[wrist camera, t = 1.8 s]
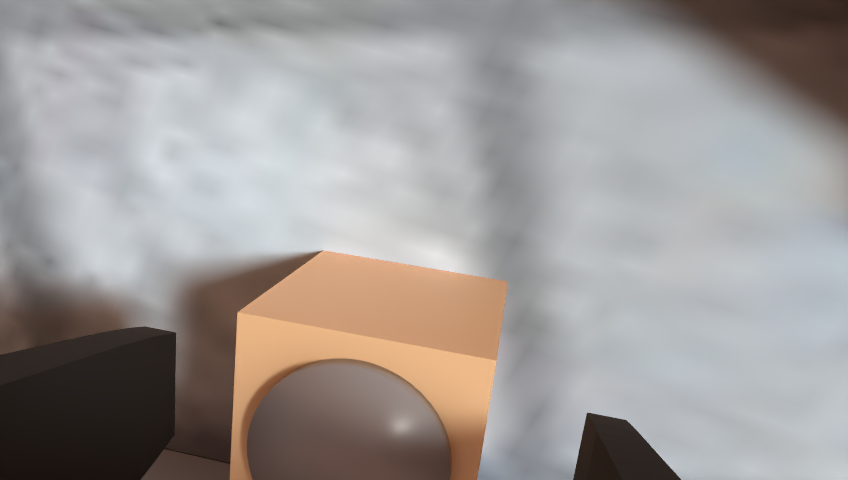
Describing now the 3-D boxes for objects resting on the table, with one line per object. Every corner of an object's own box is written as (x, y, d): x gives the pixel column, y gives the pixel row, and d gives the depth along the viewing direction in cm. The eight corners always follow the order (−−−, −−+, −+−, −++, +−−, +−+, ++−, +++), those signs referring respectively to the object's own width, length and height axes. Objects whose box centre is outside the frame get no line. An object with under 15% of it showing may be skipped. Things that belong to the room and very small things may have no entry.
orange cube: (480, 449, 14) (456, 602, 9) (310, 414, 14) (218, 544, 10) (508, 280, 13) (495, 369, 8) (324, 249, 13) (227, 319, 9)
